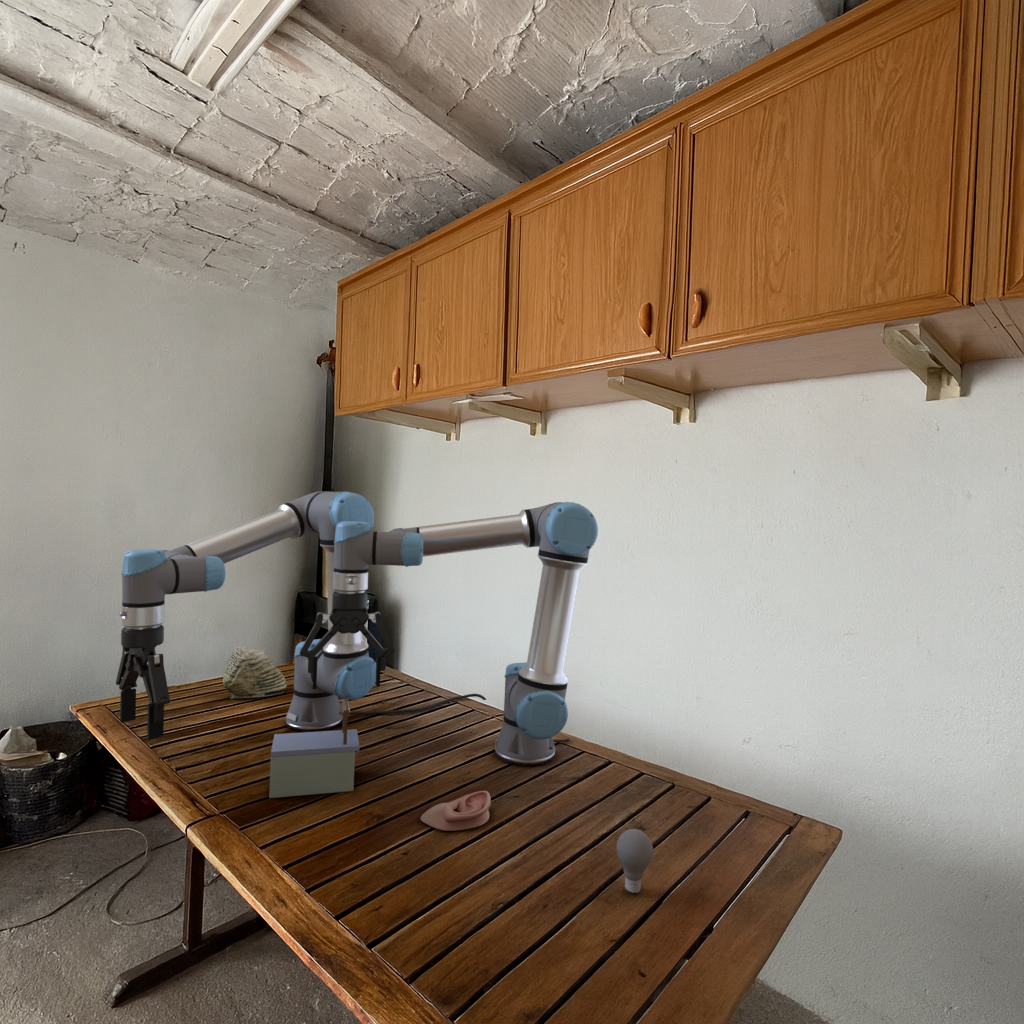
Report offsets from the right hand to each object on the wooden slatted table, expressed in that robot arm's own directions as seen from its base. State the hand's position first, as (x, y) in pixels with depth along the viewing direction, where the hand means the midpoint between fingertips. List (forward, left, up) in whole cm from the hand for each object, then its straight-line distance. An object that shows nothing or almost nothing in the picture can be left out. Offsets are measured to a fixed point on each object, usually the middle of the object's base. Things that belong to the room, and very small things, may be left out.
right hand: (346, 686), depth 141 cm
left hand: (+40, -6, -7) cm, 41 cm away
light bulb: (-38, +56, -21) cm, 71 cm away
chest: (+6, -1, -21) cm, 22 cm away
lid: (+6, -1, -13) cm, 14 cm away
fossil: (+15, -70, -21) cm, 74 cm away
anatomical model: (-18, +24, -21) cm, 37 cm away
